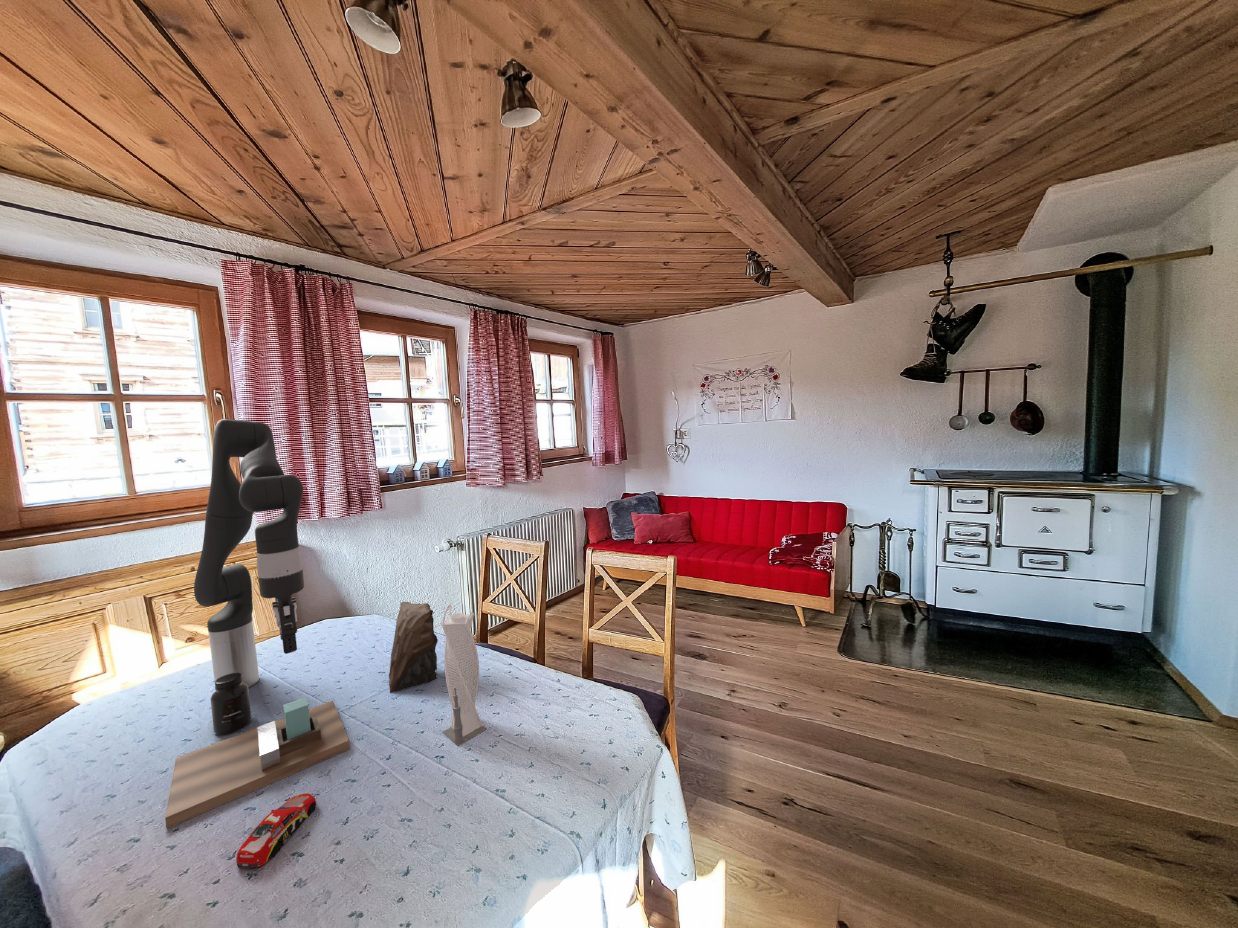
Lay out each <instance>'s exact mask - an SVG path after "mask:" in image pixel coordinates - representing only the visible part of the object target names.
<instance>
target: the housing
mask: <svg viewBox="0 0 1238 928" xmlns="http://www.w3.org/2000/svg"><path fill="white" fill-rule="evenodd" d="M308 709H309V718H310V728H311V731H310V732H308V733H305V734H303V735H300V736H298V737H295V738H292V739H290V740H287V734H286V725H285V717H283V718H281V719H279V720H274V721H275V725H276V732H277V738H278V745H279V753H280V761H281V762H280V763H278V764H276V765H273V766H271V767H268V768H266V769H263V770H262V768H261V760H260V750H259V739H258V728H257V727H256V728H253V729H251V730H248V731H246V732H242V733H239V734H238V735H234V736H232V737H228V738H226V739H223V740H221V741H218V742H215V743H212V744H210V745H208V746H207V745H206V746H204V747H202V748H201V747H200V748H199V749H196V750H193V751H190V752H187V753H186V754H185V753H184V754H182V755H179V756H177V757H175V762H174V766H173V773H172V776H171V777H172V778H171V784H170V790H169V794H168V799H167V806H166V811H165V816H164V820H165V826H166V827H165V828H166V829H168V828H171V827H173V826H176V825H179V824H180V823H182V822H184V821H185V822H186V821H187V820H190V819H192V818H194V817H197V816H199V815H201V814H203V813H205V812H208V811H210V810H212V809H215V808H217V807H219V806H222V805H224V804H226V803H229V802H231V801H233V800H236V799H239V798H240V797H241V798H242V797H243V796H244V795H247V794H250V793H252V792H254V791H257V790H259V789H261V788H263V787H266V786H268V785H270V784H273V783H275V782H277V781H280V780H282V779H284V778H286V777H289V776H291V775H293V774H295V773H298V772H300V771H302V770H305V769H308V768H310V767H312V766H314V765H317V764H319V763H322V762H323V761H326V760H328V759H330V758H333V757H335V756H338V755H340V754H342V753H345V752H346V751H349V750H350V740H349V737H348V735H347V732H346V729H345V728H344V725H343V722H342V719H341V717H340V715H339V712H338V709H337V707H336V705H335V702H334V700H330V701H328V702H324V703H322V704H320V705H317V706H314V707H311V708H308Z"/></svg>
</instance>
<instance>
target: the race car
mask: <svg viewBox="0 0 1238 928" xmlns="http://www.w3.org/2000/svg"><path fill="white" fill-rule="evenodd" d="M316 807H317V800H316V798H315V796H313V795H312V794H311V793H308V792H307V793H306V792H305V793H302V794H301V793H300V794H298V795H294V796H292V797H290V798H288V800H286V801H285V802H283V804H281V805H280V806H279V807H278V808H275V809H271V810H270V812H269V813H268V814H267V815H266V816H265V817H264V818H263V819H262V820H261V822H259V823H258V824H257V826H256V827H255V828H254V830H253V831H252V832H251V833H250V835H248V837H247V838H246V840H245V841H244V842H243V843H242V844H241V846H240V847H239V849H238V851H237V854H236V859H235V861H236V866H237V869H238V868H239V869H241V868H244V869H251V868H252V869H256V867H257V868H258V867H259V868H260V867H261V866H263V865H264V864H267V863H268V862H269V861H270V860H272V858H275V857H276V855H277V854H278V853H279V852H280V851H281V848H282V847H283V846H284V845H285V844H286V843H287V842H288V841H289V839H290V838H292V836H293V835H294V834H295V833H296V832H297V830H298V829H299V828H300V827H301V826H302V825H303V823H304V822H305V821H306V820H307V818H309V816H311V815H312V814H313V812H315V810H316Z"/></svg>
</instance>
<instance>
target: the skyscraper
mask: <svg viewBox="0 0 1238 928" xmlns="http://www.w3.org/2000/svg"><path fill="white" fill-rule="evenodd" d="M444 610H445V611H444V612H443V616H442V619H441V621H442V622H441V626H442V627H441V628H442V630H443V634H444V635H445V642H444V653H443V654H444V656H443V657H444V662H443V663H444V672H445V673H444V674H445V681H446V687H447V688H446V689H447V693H448V696H449V702H450V706H451V709H452V714H451V715H452V716H451V721H450V727H449V728H447V729H445V730H443V731H442V733H443V735H444V736H446V737H447V738H448V739H449V740H450V741H452V743H453V744H454V745H455V746H457V747H460V746H461V745H463V744H465V743H467V741H470V740H471V739H473V738H475V737H476V736H479V735H480V734H482V733H483V732H485V731H487V730H488V728H487V727H485V726H484V724H483V722H482V720H481V718H480V715H479V712H478V709H477V708H476V701H477V697H478V691H479V690H478V689H479V681H480V661H479V654H478V653H479V652H478V648H477V646H476V641H475V639H474V636H473V633H472V631H471V630H472V624H473V620H474V616H475V613H474V611H471V612H470V613H469V614H464V613H462V612H456V613H454V614H452V605H451V604H449V605H448V606H447V607H446V609H444ZM448 610H449V613H448V615H449V616H448V618H447V619H446V615H447V612H448ZM445 619H446V620H445Z"/></svg>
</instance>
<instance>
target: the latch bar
mask: <svg viewBox="0 0 1238 928" xmlns="http://www.w3.org/2000/svg"><path fill="white" fill-rule="evenodd" d="M275 721H276V720H273V721H269V722H268V723H265V724H261V725H258V726H257V727H256V728H258V739H259V750H260V760H261V768H262V770H263V769H266V768H268V767H271V766H273V765H276V764H278V763H280V762H281V761H280V753H279V745H278V738H277V732H276V725H275Z"/></svg>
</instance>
